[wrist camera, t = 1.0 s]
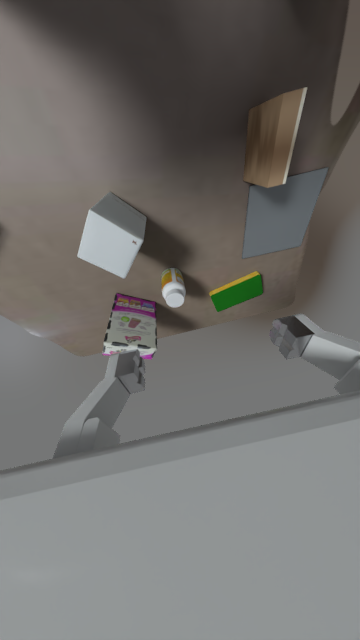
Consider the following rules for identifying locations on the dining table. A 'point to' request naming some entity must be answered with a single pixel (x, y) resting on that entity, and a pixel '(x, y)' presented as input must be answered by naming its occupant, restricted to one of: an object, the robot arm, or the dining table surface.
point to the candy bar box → (131, 327)
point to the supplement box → (112, 235)
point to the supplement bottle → (173, 287)
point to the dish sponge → (237, 291)
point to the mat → (280, 213)
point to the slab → (272, 138)
